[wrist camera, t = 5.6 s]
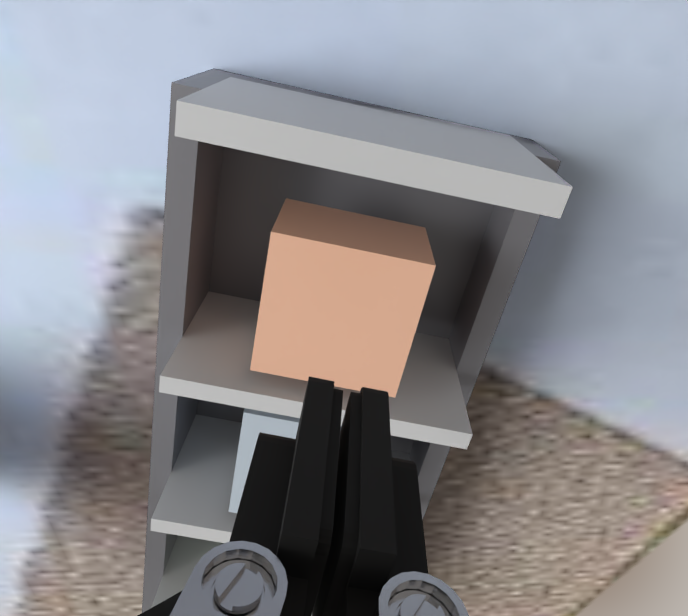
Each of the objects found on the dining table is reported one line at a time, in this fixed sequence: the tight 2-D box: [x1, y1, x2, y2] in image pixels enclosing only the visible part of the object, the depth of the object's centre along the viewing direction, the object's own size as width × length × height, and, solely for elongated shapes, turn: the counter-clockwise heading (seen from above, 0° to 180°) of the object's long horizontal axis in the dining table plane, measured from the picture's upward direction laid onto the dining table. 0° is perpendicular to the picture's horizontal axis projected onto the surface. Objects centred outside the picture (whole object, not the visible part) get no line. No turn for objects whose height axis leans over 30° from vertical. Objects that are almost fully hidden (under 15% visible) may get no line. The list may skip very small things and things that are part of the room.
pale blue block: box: [228, 408, 341, 513], centre depth 20 cm, size 4×4×3 cm
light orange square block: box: [250, 198, 436, 398], centre depth 17 cm, size 4×4×3 cm
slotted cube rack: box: [142, 69, 573, 616], centre depth 22 cm, size 28×11×7 cm, turn 168°
